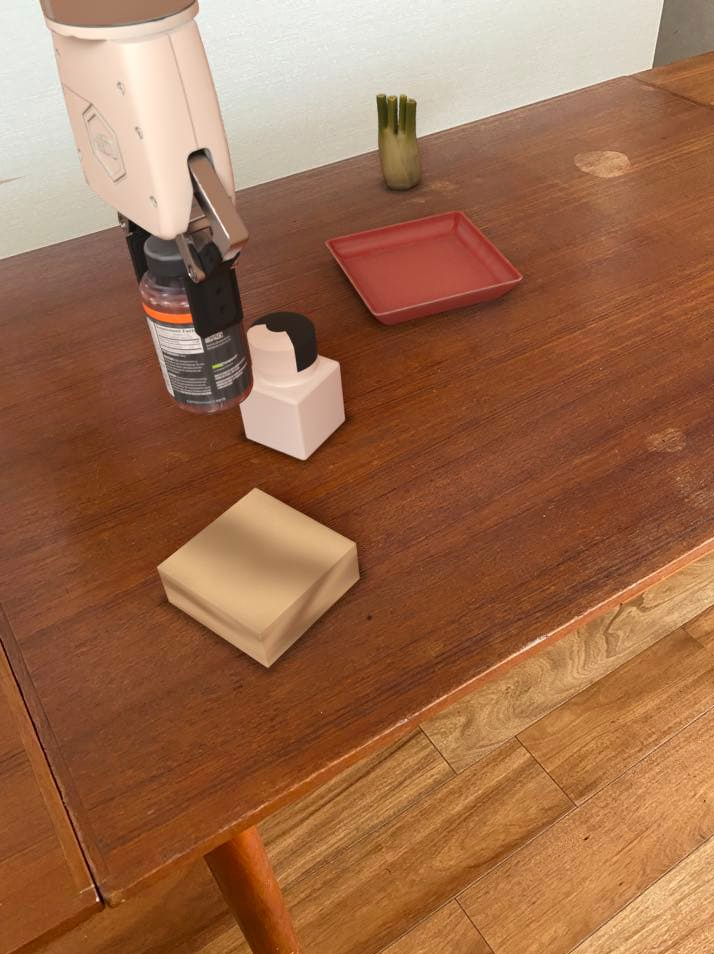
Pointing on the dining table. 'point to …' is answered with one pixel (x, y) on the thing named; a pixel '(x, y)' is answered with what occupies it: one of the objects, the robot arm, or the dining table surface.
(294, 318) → the medicine bottle
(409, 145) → the fennel bulb
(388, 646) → the dining table surface
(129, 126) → the robot arm
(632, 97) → the dining table surface
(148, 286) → the supplement bottle
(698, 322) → the dining table surface
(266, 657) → the block
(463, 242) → the plant saucer
